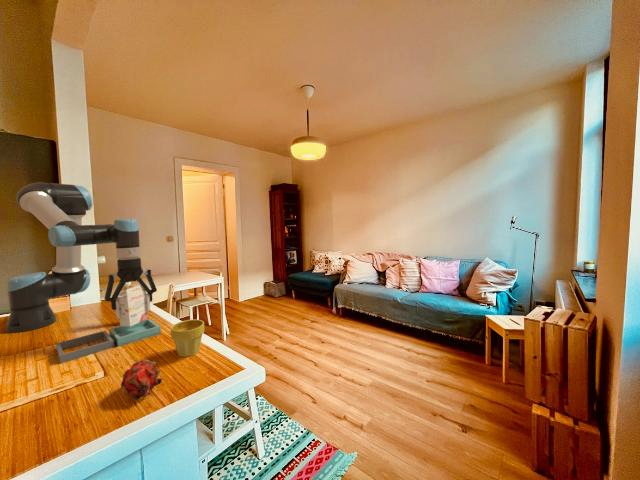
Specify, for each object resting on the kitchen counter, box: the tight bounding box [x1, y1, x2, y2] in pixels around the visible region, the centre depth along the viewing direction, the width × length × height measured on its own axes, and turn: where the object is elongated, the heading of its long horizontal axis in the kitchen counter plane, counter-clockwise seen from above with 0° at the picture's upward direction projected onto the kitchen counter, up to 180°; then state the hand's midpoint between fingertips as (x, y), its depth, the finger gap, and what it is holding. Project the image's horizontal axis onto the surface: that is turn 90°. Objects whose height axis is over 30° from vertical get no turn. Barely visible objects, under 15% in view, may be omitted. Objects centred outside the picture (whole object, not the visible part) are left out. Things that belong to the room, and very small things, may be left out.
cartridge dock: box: [55, 330, 115, 364], centre depth 94 cm, size 14×14×2 cm
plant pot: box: [170, 318, 205, 358], centre depth 90 cm, size 10×10×10 cm
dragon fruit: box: [120, 358, 163, 400], centre depth 69 cm, size 8×8×12 cm
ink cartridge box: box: [116, 284, 149, 327], centre depth 104 cm, size 9×5×15 cm, turn 168°
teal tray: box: [108, 318, 162, 348], centre depth 105 cm, size 14×14×3 cm
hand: (133, 313), depth 104 cm, fingers closed on ink cartridge box, 10 cm apart
